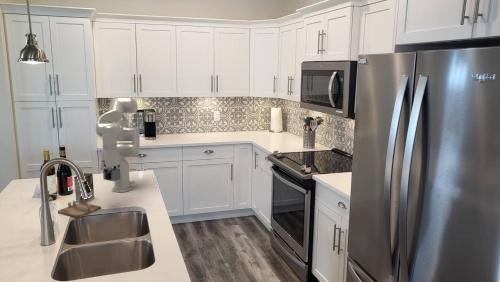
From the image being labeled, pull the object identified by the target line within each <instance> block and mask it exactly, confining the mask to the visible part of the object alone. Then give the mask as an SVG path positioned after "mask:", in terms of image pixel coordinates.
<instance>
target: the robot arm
mask: <svg viewBox="0 0 500 282" xmlns="http://www.w3.org/2000/svg"><path fill="white" fill-rule="evenodd" d="M108 107H109V108H108V111H106V112H105V113H104V114H102V115H100V116H99V117H98V119H97V122H96V124H95V132H96V134H97V136H99V137H101V139H102V149H101V155H100V168H99V169H100V170H101V171H102V172H103V171H104V173H105V177H106V179H107V180H106V181H109V180H110V173H109V171H110V168H117V169H120V178H121V179H120V180H117V181H113V183H114V187H112V191H113V192H114V193H127V192H130V191H132V190H133V186H132V185H134V184H135V183H136V182H135V180H131V181H130V163H129V161H128V160H127V159H126V158H136V157H138V156H139V154H140V136H141V135H140V130H139V128H138V127H136V126H129V120H128V118H127V117H126V115H124V114H135V113H137V111H138V102H137V101H136V99H135V98H133V97H129V96H128V97H125V96H124V97H123V96H119V97H118V96H117V97H113V98H112V99H111V100H110V104H109V106H108Z"/></svg>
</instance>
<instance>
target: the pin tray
mask: <svg viewBox="0 0 500 282" xmlns="http://www.w3.org/2000/svg"><path fill="white" fill-rule="evenodd" d="M67 205H68V206H67V207H64V208H62V209H59V210H57V211H58V213H57V214H60V215H64V216H67V217H70V218H74V219H80V218H82V217H84V216H87V215H89V214H91V213H95V212H96V211H98V210H101V209H102V206H100V205H97V204H91V203H89V202H87V203H84V202H80V203H76V200H72V202H71V201H70V202H69V201H68V202H67Z"/></svg>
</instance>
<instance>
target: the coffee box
mask: <svg viewBox="0 0 500 282" xmlns="http://www.w3.org/2000/svg"><path fill="white" fill-rule="evenodd" d="M83 173H84V176H85V179H86V181H87V182H88V185H89V187H90V189H91V192H92V196H91V197H90V198H87V199H84V198H82V196H81V191H80V186H79V182H78V179H77V176H78V175H76V176H74V177H73V181H74V191H75V201H76V204H78V203H80V202H84V203H89V202H91V201H92V200H94V199H95V190H94V188H95V187H94V176H93V173H91V172H83Z"/></svg>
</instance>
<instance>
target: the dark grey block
mask: <svg viewBox="0 0 500 282" xmlns="http://www.w3.org/2000/svg"><path fill="white" fill-rule="evenodd" d="M109 173H110V180H107V179H106V177H105V173H104V171H103V170H102V176H103V177H102V178H103V180H105V181H111V182H114V181H117V180H120V179H121V178H120V169H117V168H113V167H111V168H110V171H109Z"/></svg>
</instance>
